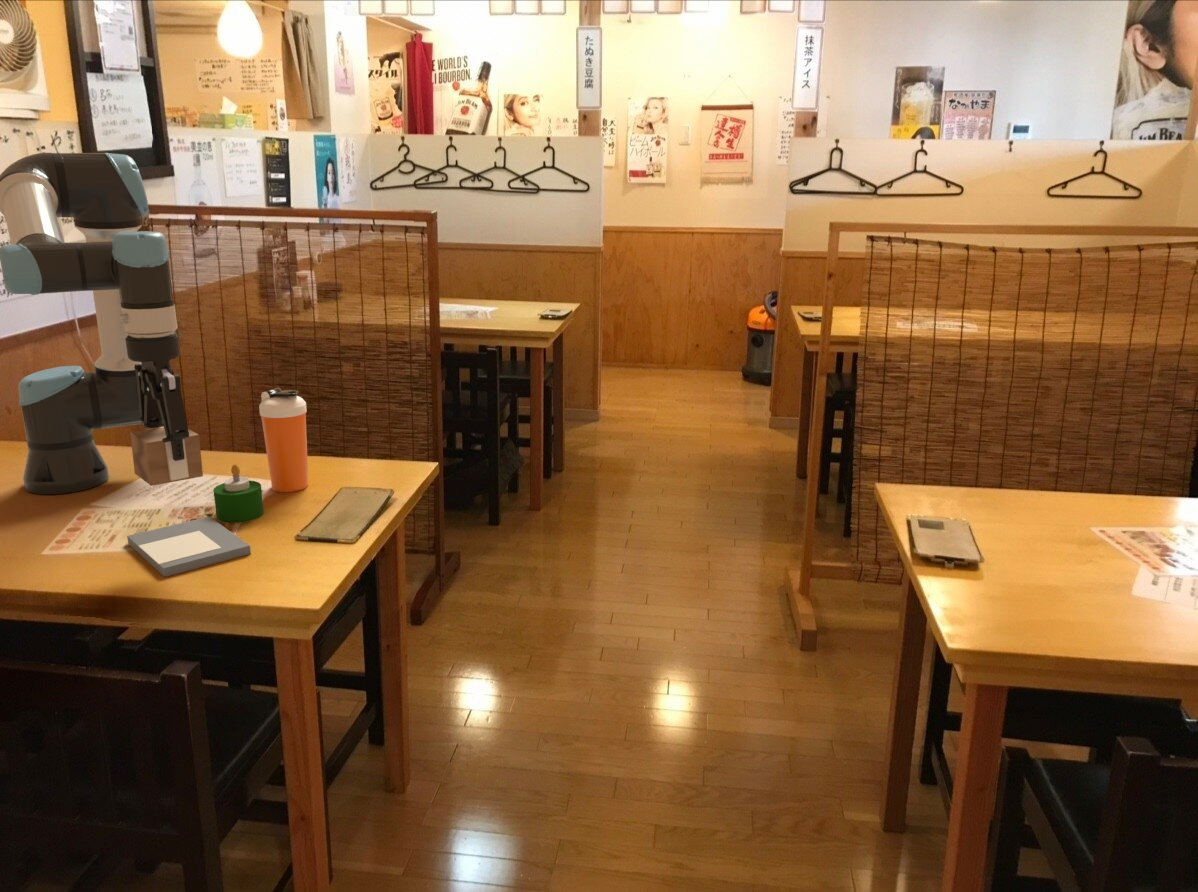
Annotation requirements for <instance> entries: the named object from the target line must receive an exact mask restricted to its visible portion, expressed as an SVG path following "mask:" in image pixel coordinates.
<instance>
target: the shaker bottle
mask: <svg viewBox="0 0 1198 892" xmlns="http://www.w3.org/2000/svg"><path fill="white" fill-rule="evenodd" d="M299 394H300V391H299V390H294V389H285V390H282V389H281V388H279V387H275V388H272V389H270V390H266V391H263V392H261V396H260V398H261V399H260V400H261V402H260V404H259V406H258V407H259V416H260V417H261V422H262V423H261V424H262V428H263V429H262V431H263V436H264V443H265V450H266V457H267V463H268V469H269V476H270V484H271V488H272V490H273V491H274V492H279V493H292V492H298V491H302V490H304V489H306V488H307V487H308V486H309V468H308V464H309V463H308V439H307V415H306V414H307V412H308V411H307V410H308V409H307V402H306V401H305V400H304V398H302V396H298V395H299Z"/></svg>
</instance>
